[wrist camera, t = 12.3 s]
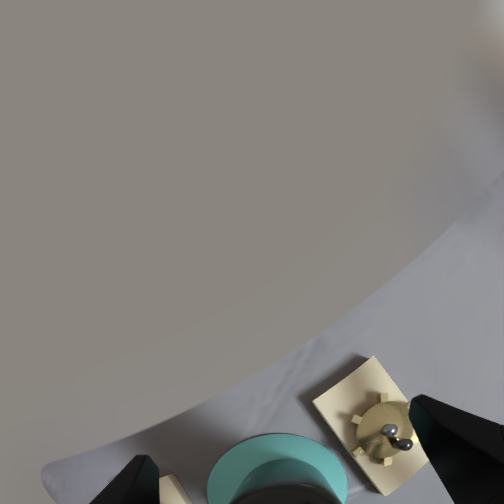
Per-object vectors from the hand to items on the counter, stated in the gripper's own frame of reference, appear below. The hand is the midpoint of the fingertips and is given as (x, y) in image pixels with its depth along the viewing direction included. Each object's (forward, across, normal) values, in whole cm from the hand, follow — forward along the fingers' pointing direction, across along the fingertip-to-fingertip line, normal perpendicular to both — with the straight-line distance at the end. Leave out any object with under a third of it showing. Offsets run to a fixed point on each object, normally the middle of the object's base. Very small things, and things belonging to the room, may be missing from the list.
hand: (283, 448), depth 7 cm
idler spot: (+5, +2, +14) cm, 15 cm away
